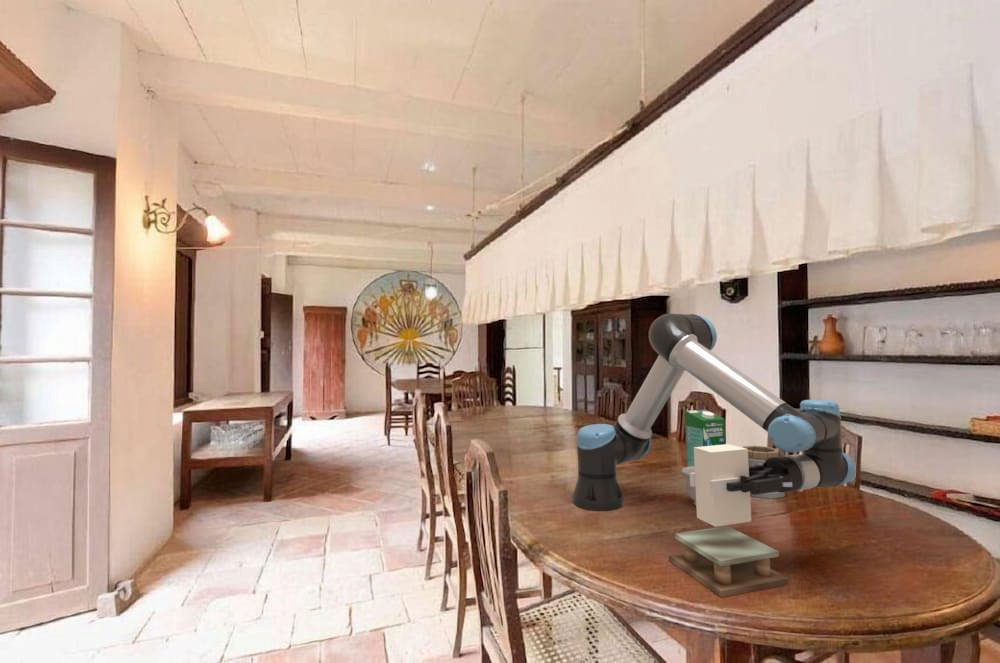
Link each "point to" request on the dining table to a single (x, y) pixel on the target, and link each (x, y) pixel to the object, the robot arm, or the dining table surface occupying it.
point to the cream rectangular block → (714, 467)
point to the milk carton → (702, 431)
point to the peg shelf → (737, 576)
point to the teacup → (690, 489)
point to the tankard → (758, 457)
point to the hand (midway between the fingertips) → (701, 483)
